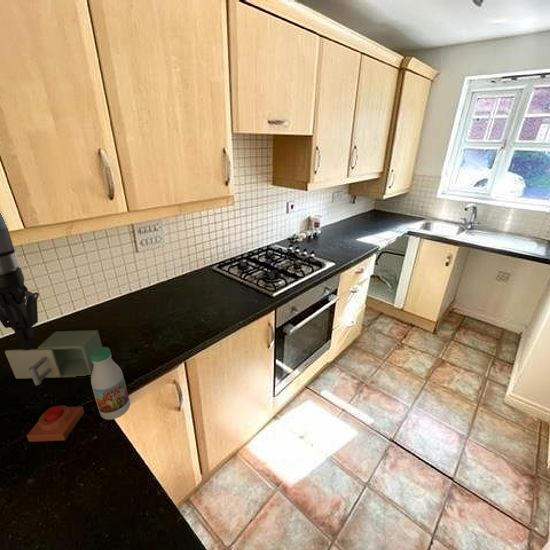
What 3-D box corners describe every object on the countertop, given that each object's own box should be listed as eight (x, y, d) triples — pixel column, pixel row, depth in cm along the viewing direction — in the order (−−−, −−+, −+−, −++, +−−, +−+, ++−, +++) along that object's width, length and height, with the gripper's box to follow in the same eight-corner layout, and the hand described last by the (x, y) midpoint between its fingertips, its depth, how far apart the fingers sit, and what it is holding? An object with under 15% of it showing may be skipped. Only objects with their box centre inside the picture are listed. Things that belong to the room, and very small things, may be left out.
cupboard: (48, 378, 98) (37, 347, 94) (65, 360, 106) (55, 331, 102) (92, 376, 99) (83, 345, 94) (105, 359, 107) (97, 330, 102)
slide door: (-1, 393, 91) (-13, 364, 87) (17, 377, 97) (6, 350, 93) (47, 391, 91) (36, 363, 87) (61, 375, 98) (52, 348, 94)
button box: (28, 441, 76) (23, 430, 75) (51, 413, 85) (47, 402, 83) (65, 440, 77) (60, 428, 75) (84, 412, 85) (80, 401, 83)
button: (42, 422, 77) (40, 417, 77) (51, 411, 81) (49, 406, 80) (57, 421, 78) (55, 416, 77) (65, 410, 81) (63, 405, 80)
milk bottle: (94, 416, 84) (75, 356, 76) (116, 396, 90) (101, 340, 83) (114, 424, 81) (97, 363, 73) (136, 403, 88) (122, 346, 80)
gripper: (38, 264, 81) (61, 339, 89) (-12, 265, 80) (16, 340, 89) (17, 275, 74) (44, 354, 82) (-38, 276, 73) (-5, 356, 82)
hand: (29, 347), depth 86 cm, fingers closed
